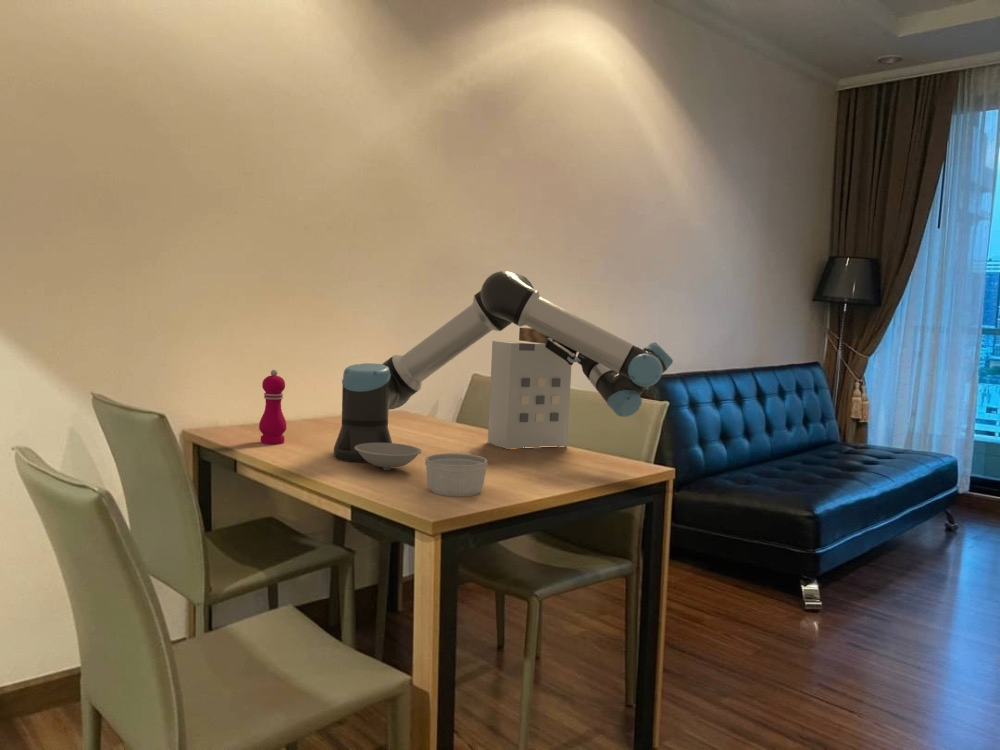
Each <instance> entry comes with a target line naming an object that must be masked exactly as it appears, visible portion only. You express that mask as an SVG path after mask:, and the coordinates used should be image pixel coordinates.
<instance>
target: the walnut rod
mask: <svg viewBox="0 0 1000 750" xmlns="http://www.w3.org/2000/svg"><path fill="white" fill-rule="evenodd" d="M518 342H537V343H546V342H547V339H546V337H545V335H544V334H542V333H540V332H538V331H536V330H535V329H533V328H531V327H519V334H518Z"/></svg>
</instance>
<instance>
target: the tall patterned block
mask: <svg viewBox="0 0 1000 750" xmlns="http://www.w3.org/2000/svg"><path fill="white" fill-rule="evenodd" d="M491 343H492V344H491V365H490V367H491V368H490V370H491V371H490V384H489V385H490V388H489V390H490V391H489V410H488V411H489V412H488V427H487V431H488V432H487V443H488V442H489V443H488V444H490V443H491V444H490V445H493V444H494V445H493V446H496V445H497V446H496V447H498V446H500V447H499V448H501V447H503V448H506V449H510V448H523V447H524V448H525V447H540V446H564V447H563V448H567V447H568V436H569V435H568V434H569V417H570V400H571V399H570V398H571V382H572V381H571V380H572V377H571V376H572V365H569V364H568V363H567V362H566V361H565V360H564V359H562V358H561V357H559V356H558V355H556V354H555V353H553V352H552V351H550V350H549V349H547V348H546V347H545V345H546V343H537V342H527V341H514V340H512V341H510V340H509V341H507V340H492V341H491ZM503 448H502V449H503ZM506 449H505V450H506ZM510 450H511V449H510Z"/></svg>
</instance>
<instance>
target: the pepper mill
mask: <svg viewBox="0 0 1000 750" xmlns="http://www.w3.org/2000/svg"><path fill="white" fill-rule="evenodd" d="M261 384H262V385H261V387H262V389H263V390H264V393H263V396H264V397H263V399H265V405H264V411H263V413H262V416H261V418H260V421H259V424H258V429H259V431H260V433H261V434H262V435H260V443H261V444H263V445H282V444H284V443H285V435H283V434H284V433H285V431H286V430H287V421H286V418H285V416H284V414H283V411H282V400H283V399H284V396H283V395H284V393H283V391H284V390H285V388H286V382H285V379H284V378H283V377H282V376H280V375H278V370H276V369H272V370H271V371H270V375H268V376H266V377H265V378H264V379H263V380H262V383H261Z"/></svg>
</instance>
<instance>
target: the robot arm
mask: <svg viewBox="0 0 1000 750" xmlns="http://www.w3.org/2000/svg"><path fill="white" fill-rule="evenodd" d="M539 292H540V291H539V290H537V289H535V287H534V286H533V284H532V282H531V281H530V280H529V279H528V278H527V277H525V275H523V274H520V273H515V272H512V271H506V270H502V271H501V270H500V271H496V272H494V273H491V274H490V275H489V276H487V278H486V279H485V280H484V282H483V284H482V286H481V288H480V290H479V291H478V292H477V293H475V294H474V295H473V300H472V304H471V305H469V306H468V307H466V308H464V310H462V311H461V312H459V313H458V314H456V315H455V316H454V317H452V319H449V321H447V322H445V324H442V326H441V327H439V328H438V329H437V330H435V331H434V332H433V333H431V334H430V335H428V336H427V337H426V338H424V339H423V340H422V341H420V342H419V343H418V344H417V345H414V347H412V348H410V350H408V351H407V352H406V353H404V354H403V355H400V354H393V355H392V356H391V357H389V358H388V359H386V360H385V361H384V362H383V363H360V364H359V363H357V364H351V365H348V366H347V367H346V368H345V369H344V370H343V375H342V379H341V380H342V381H341V385H342V389H341V390H342V391H341V392H342V393H341V399H342V401H341V427H340V430H339V433H338V436H337V438H336V441H335V444H334V447H333V458H335V459H337V460H339V461H345V462H352V463H353V462H355V463H368V462H367V461H366V460H365V459H364V458H363V457H362V456H361V455H360V454H359V452H358V451H357V450H355V448H354V447H355V446H356V445H359V444H363V443H393V440H392V437H391V433H390V431H389V411H390V410H395V409H398V408H400V407H403V406H404V405H405V404H406V403H407V402H408V401H409V400H410V398H411V397H412V396H414V395H415V394H416V393H417V392H419V391H420V390H421V389H422V382H423V381H425V380H426V379H427V378H429V377H430V376H431V375H433V374H434V373H436V372H437V371H438V370H440V369H441V368H442V367H444V366H445V365H446V364H448V363H449V362H451V361H452V360H454V359H455V358H456V357H458V356H459V355H460V354H461V353H464V351H466V350H467V349H468V348H470V347H471V346H472V345H474V344H475V343H476V342H478V341H479V340H481V339H482V338H483V337H485V336H486V335H488V334H489V333H491V331H495V332H501V331H503V330H504V329H505V328H507V327H508V326H510V325H512V324H513V325H514V324H515V325H516V326H518V327H523V326H527V327H528V328H533V329H535V330H536V331H538V332H540V333H542V334H544V335H545V337H546V339H547V342H546V345H545V347H546V348H547V349H549V350H550V351H552V352H553V353H555V354H556V355H558V356H559V357H561V358H562V359H564V360H565V361H566V362H567V363H568V364H569V365H571V366H573V364H574V363H578V365H580V366H581V369H582V370H581V371H582V372H583V374H584V375H585V377H586V378H587V380H589V382H590V384H591V385H592V386H593V387H594V388H595V389H596V391H597V392H598V393H599V395H600V396H601V397H602V399H603V400H604V401H605V402H606V404H607V407H610V409H611V410H612V411H613V412H614V414H616V415H617V416H618V417H622V418H627V417H630V416H633V415H634V414H636V413H637V412H638V411H639V410H640V407H641V406H642V403H643V399H642V397H641V395H642V394H643V392H645V390H646V389H647V388H648V387H651V386H654V385H655V384H657V383H658V382H659V381H661V379H662V377H663V373H666V371H667V370H668V369H669V367H671V366H672V364H673V362H674V361H673V360H674V359H672V357H671V356H670V355H669V354H668V353H667V352H666V351H665V350H664V349H663V348H662V347H661V345H660V344H658V343H657V342H654V341H652V342H650V343H649V344H648V345H647V346H645V347H643V349H642V348H640V347H639V346H636V345H634V344H632V343H631V342H629V341H626V340H625V339H623V338H620V337H618V336H617V335H615V334H613V333H611V332H609V331H607V330H606V329H603V328H601V327H599V326H597V325H595V324H594V323H592V322H589V321H587V320H585V319H584V318H582V317H580V316H578V315H576V314H574V313H572V312H570V311H568V310H567V309H564V308H562V307H561V306H559V305H557V304H555V303H553V302H552V301H549V300H547V299H545V298H544V297H542V296H540V293H539Z"/></svg>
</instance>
